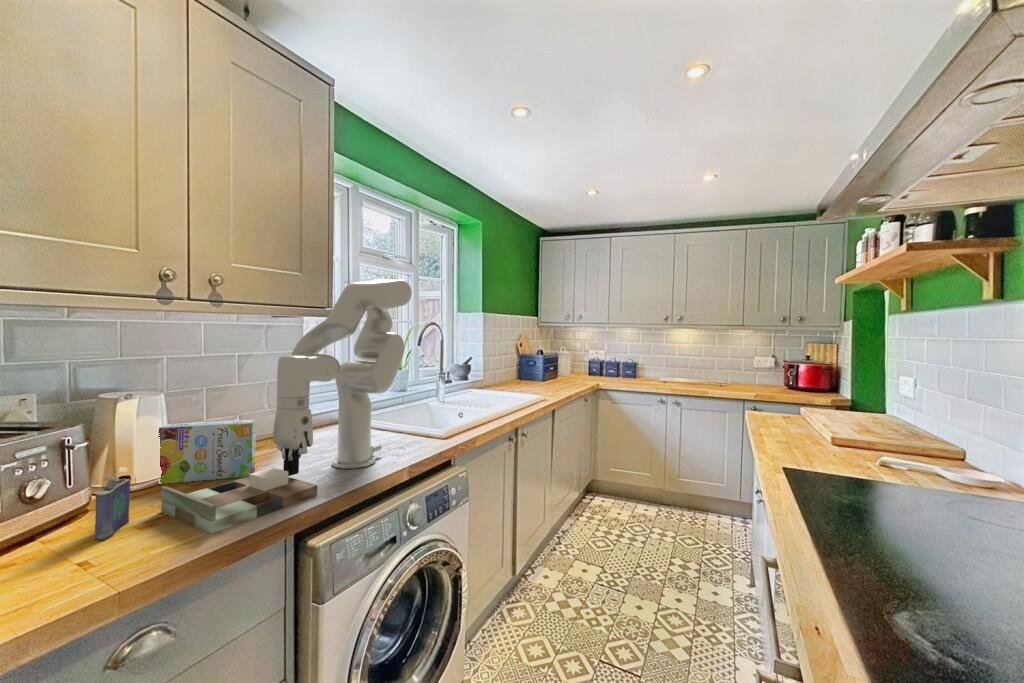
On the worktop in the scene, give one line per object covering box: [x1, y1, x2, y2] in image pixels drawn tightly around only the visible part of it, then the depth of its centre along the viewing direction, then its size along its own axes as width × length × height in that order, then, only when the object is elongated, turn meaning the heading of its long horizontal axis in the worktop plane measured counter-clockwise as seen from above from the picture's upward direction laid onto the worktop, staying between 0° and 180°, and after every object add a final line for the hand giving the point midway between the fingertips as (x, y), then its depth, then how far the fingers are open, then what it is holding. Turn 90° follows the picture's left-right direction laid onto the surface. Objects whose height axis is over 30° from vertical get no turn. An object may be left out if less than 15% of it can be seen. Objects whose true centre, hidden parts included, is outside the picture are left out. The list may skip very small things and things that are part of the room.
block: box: [249, 467, 289, 491], centre depth 105 cm, size 6×6×3 cm
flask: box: [94, 476, 131, 542], centre depth 85 cm, size 9×3×11 cm, turn 20°
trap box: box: [160, 476, 318, 535], centre depth 99 cm, size 24×20×6 cm
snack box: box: [158, 419, 257, 485], centre depth 116 cm, size 21×6×15 cm, turn 111°
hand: (291, 474), depth 110 cm, fingers closed
